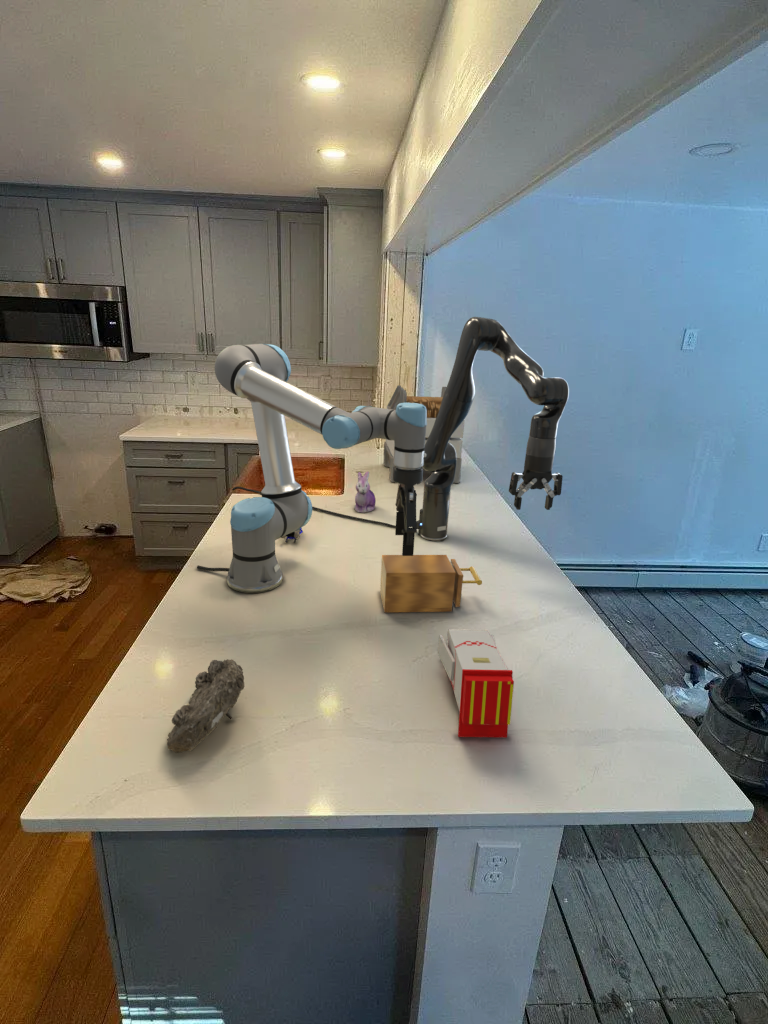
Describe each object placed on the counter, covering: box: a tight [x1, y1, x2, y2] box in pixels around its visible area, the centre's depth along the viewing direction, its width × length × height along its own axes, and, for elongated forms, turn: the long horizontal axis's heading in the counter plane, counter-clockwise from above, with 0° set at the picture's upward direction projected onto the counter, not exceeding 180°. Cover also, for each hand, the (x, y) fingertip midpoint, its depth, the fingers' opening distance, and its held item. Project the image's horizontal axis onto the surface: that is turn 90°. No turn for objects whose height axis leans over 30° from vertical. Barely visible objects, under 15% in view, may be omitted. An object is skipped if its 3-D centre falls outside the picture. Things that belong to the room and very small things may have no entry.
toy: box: [437, 628, 515, 738], centre depth 117 cm, size 12×13×30 cm
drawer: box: [449, 558, 483, 608], centre depth 153 cm, size 22×10×9 cm, turn 96°
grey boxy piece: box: [383, 384, 465, 484], centre depth 268 cm, size 34×33×41 cm
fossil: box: [166, 658, 245, 754], centre depth 106 cm, size 22×10×15 cm
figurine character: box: [280, 527, 304, 544], centre depth 192 cm, size 7×8×15 cm
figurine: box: [354, 470, 376, 513], centre depth 220 cm, size 9×10×15 cm
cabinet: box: [379, 554, 455, 613], centre depth 152 cm, size 18×11×12 cm, turn 96°
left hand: (403, 544), depth 149 cm, fingers open, 13 cm apart
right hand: (532, 509), depth 159 cm, fingers open, 8 cm apart
